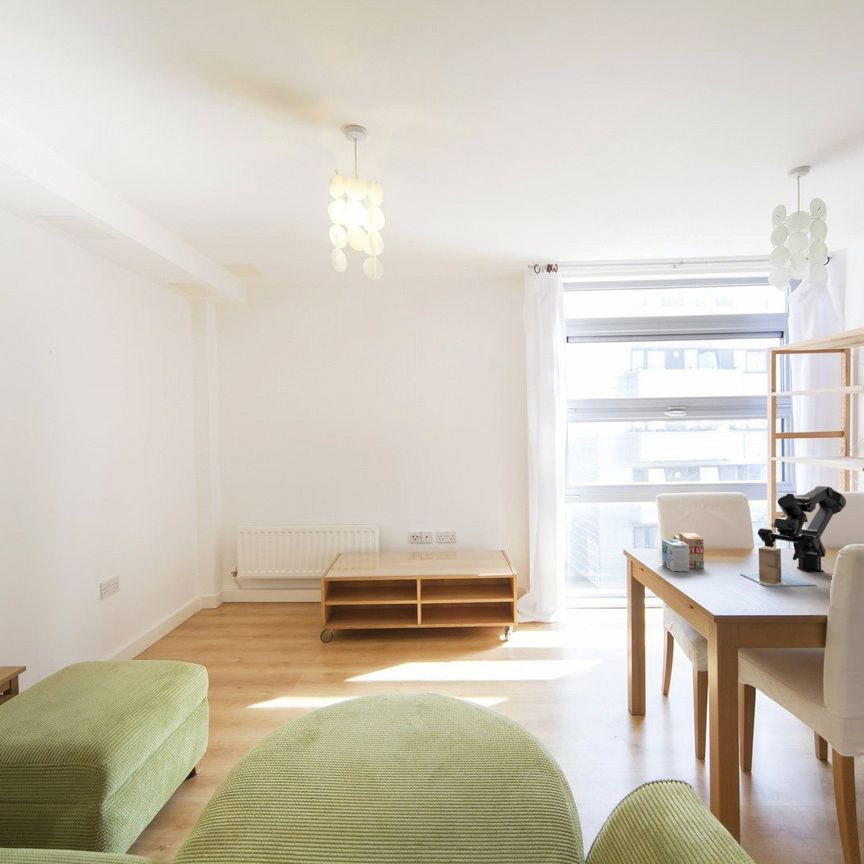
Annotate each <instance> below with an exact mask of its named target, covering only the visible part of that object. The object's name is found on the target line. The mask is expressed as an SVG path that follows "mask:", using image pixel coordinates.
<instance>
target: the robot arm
mask: <svg viewBox="0 0 864 864" xmlns="http://www.w3.org/2000/svg"><path fill="white" fill-rule="evenodd" d="M777 504H778V506H779V507H780V509H781V511H782V513H783V514H784V515H785V516H786V518H785V519H784V518H776V517H775V519H774V523H773V527H774V528H777V529H776V532H778V533H774V532H773V531H772V529H769V528H763V527H761V528H759V529H758V531H757V535H758V536H759V538H760V539H761V541H762V542H764V547H765V546H767V547H773V548H774V546H775V544H774V543H775V542H776V540H779V541H786V542H790V543H793V549H794V554H793V555H792V561H796V560H798V564H797V565H798V566H796V569H797V570H798V569H799V570H801V571H804V572H807V573H825V570H824V569H822V558H825V557H826V548H825V547H824V545H823V543H822V540H821V537H822V535H823V533H824V531H825V529H827V526H828V524H829V522H830V521H831V519H832V518H833V516H834V515H835V514H838V513H840V512H842V511H843V509H844V508H845V507H846V504H847V500H846V498H845V496H843V494H842V493H840V492H838V491H836V490H834V489H833V488H832V487H831V486H825V485H824V486H821V485H817V486H815V487H814V488H813V489H812V490H810V491H808V492H807V493H805V494H801V495H800V494H799V495H794V493H787V494H786V495H783V496H781V497H780V498H778V499H777ZM817 504H818V506H819V508H818V509H817V512H816V513H815V514H814V516H813V518H812V520H811V521H810V523H809V525H808V527H807V528H806V529H803V528H804V525H805V523H808V521H809V520H808V517H807V516H808V515H807V514H806V513H812V512H813V511H815V510H816V507H817Z"/></svg>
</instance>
